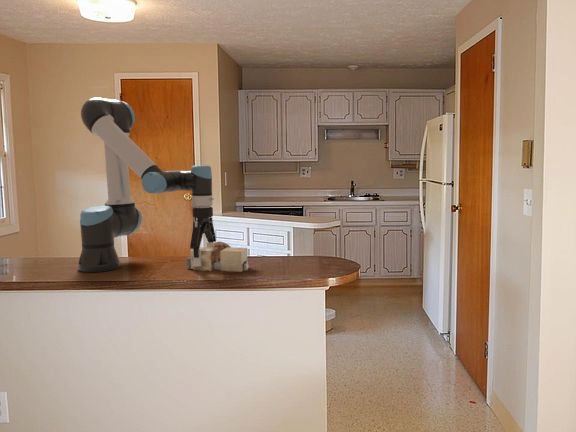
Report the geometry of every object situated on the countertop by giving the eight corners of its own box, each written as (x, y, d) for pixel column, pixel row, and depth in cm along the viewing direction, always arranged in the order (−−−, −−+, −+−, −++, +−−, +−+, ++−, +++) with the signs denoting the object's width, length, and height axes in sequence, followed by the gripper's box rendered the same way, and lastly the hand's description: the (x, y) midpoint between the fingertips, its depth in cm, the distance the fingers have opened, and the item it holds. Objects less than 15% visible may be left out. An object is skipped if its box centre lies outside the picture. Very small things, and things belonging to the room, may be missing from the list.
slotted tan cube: (190, 269, 194) (190, 250, 194) (198, 265, 202) (197, 246, 201) (212, 270, 193) (212, 250, 192) (219, 266, 200) (218, 247, 199)
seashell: (223, 261, 205) (212, 239, 207) (209, 270, 210) (199, 249, 212) (240, 256, 214) (230, 235, 216) (226, 266, 219) (216, 244, 220)
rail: (185, 269, 195) (185, 249, 194) (193, 265, 202) (192, 246, 201) (244, 271, 190) (244, 251, 189) (250, 267, 197) (249, 248, 196)
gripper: (199, 210, 182) (201, 269, 184) (223, 203, 206) (224, 256, 208) (179, 210, 183) (181, 269, 186) (205, 203, 207) (206, 255, 210)
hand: (204, 262), depth 197 cm, fingers open, 13 cm apart
